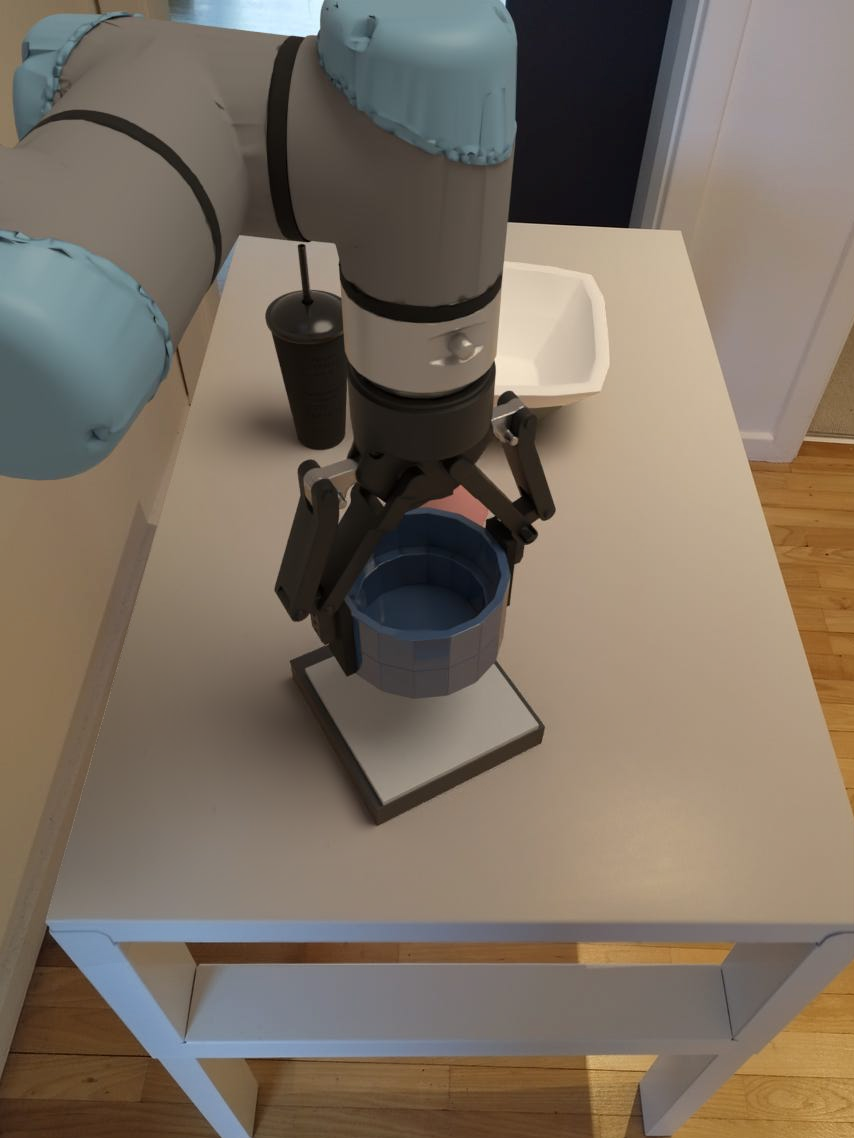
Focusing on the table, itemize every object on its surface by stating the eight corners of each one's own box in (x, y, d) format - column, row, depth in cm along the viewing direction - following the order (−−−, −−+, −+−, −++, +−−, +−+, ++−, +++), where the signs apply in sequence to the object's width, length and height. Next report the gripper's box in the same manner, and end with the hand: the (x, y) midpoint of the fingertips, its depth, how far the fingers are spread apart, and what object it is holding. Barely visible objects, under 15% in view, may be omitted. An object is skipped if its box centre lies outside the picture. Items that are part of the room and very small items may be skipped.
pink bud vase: (470, 575, 81) (477, 475, 72) (390, 553, 82) (387, 451, 73) (495, 517, 86) (505, 415, 76) (419, 497, 87) (419, 394, 77)
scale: (292, 677, 74) (288, 655, 71) (447, 611, 79) (448, 589, 76) (377, 826, 66) (376, 807, 64) (542, 742, 71) (546, 722, 69)
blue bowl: (314, 611, 64) (303, 543, 59) (451, 555, 68) (453, 487, 63) (387, 729, 59) (383, 666, 53) (531, 661, 63) (542, 596, 57)
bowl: (590, 334, 104) (602, 265, 98) (600, 470, 91) (614, 401, 84) (398, 321, 104) (396, 252, 97) (378, 456, 90) (375, 386, 83)
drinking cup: (340, 467, 89) (324, 279, 73) (269, 447, 90) (238, 258, 74) (371, 420, 93) (362, 233, 77) (303, 402, 94) (280, 214, 78)
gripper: (223, 478, 39) (284, 739, 57) (654, 333, 48) (592, 600, 65) (164, 381, 43) (238, 654, 60) (573, 262, 51) (534, 532, 69)
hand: (421, 626), depth 63 cm, fingers closed on blue bowl, 11 cm apart
